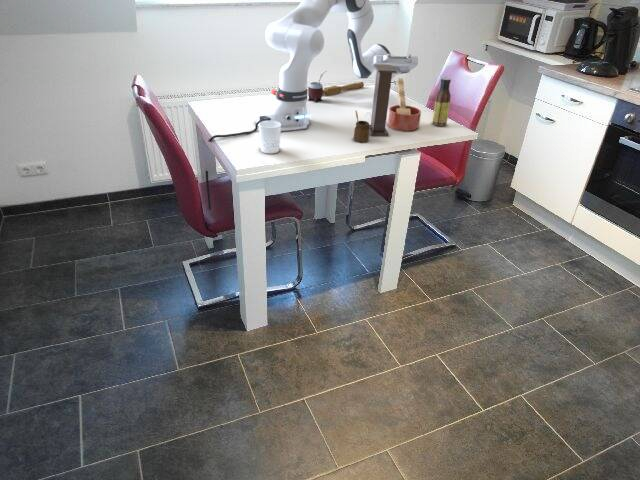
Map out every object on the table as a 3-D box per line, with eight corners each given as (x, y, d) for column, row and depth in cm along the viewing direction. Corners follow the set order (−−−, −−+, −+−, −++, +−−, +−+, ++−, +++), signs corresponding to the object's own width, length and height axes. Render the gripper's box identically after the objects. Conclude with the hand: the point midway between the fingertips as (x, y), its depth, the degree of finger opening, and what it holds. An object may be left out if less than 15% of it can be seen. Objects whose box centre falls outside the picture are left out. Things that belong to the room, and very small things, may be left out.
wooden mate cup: (370, 142, 192) (374, 112, 185) (355, 143, 190) (358, 113, 184) (365, 136, 196) (368, 107, 190) (350, 137, 195) (353, 108, 188)
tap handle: (364, 82, 256) (322, 90, 239) (364, 88, 258) (322, 96, 240) (360, 80, 258) (318, 89, 240) (359, 86, 260) (318, 95, 242)
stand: (366, 127, 206) (373, 63, 192) (382, 127, 207) (390, 64, 193) (371, 135, 198) (378, 70, 184) (387, 136, 198) (396, 70, 184)
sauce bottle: (447, 123, 215) (456, 78, 204) (444, 127, 210) (453, 81, 200) (433, 121, 217) (441, 75, 207) (429, 125, 212) (437, 78, 202)
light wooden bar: (392, 80, 214) (393, 77, 212) (406, 80, 215) (407, 78, 213) (396, 125, 208) (398, 122, 206) (410, 125, 209) (411, 123, 207)
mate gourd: (307, 98, 237) (308, 66, 229) (323, 98, 238) (324, 66, 230) (308, 102, 231) (309, 70, 223) (324, 103, 232) (326, 70, 224)
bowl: (402, 133, 202) (404, 117, 198) (381, 123, 211) (382, 107, 207) (425, 128, 209) (427, 112, 205) (403, 119, 218) (405, 103, 214)
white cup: (255, 151, 178) (255, 125, 172) (265, 144, 184) (264, 119, 178) (275, 155, 175) (275, 129, 170) (284, 148, 182) (284, 122, 176)
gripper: (369, 58, 227) (376, 48, 213) (412, 59, 229) (421, 49, 215) (369, 71, 227) (376, 62, 213) (412, 73, 229) (421, 63, 215)
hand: (399, 56), depth 214 cm, fingers open, 8 cm apart
